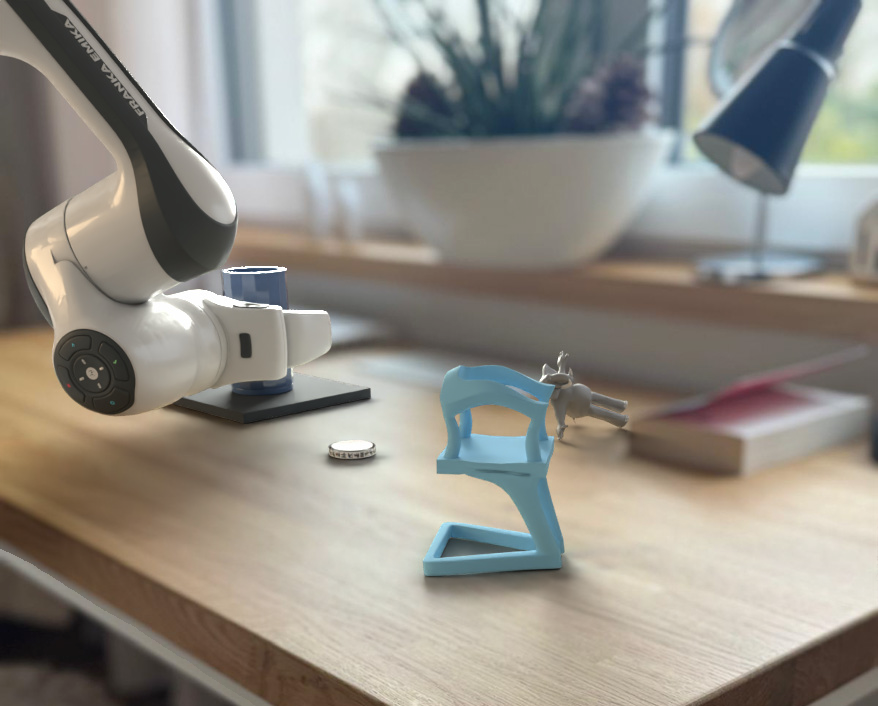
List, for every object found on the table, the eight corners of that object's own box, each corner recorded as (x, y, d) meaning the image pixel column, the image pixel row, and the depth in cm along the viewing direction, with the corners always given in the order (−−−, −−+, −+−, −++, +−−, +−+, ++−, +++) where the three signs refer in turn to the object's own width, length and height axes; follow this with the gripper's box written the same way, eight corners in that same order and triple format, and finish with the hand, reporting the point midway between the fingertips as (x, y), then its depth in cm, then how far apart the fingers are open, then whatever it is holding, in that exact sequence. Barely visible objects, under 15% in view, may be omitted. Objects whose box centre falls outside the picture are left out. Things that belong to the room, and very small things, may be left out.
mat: (155, 399, 113) (154, 390, 113) (279, 377, 124) (278, 368, 123) (244, 423, 103) (243, 413, 102) (371, 397, 113) (370, 387, 112)
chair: (559, 583, 64) (565, 381, 59) (421, 576, 65) (417, 378, 61) (567, 540, 71) (573, 356, 66) (442, 534, 72) (440, 354, 68)
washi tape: (375, 445, 94) (375, 438, 94) (376, 458, 90) (375, 450, 90) (329, 447, 94) (328, 440, 93) (328, 459, 90) (327, 452, 90)
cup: (219, 389, 113) (208, 270, 108) (269, 380, 117) (261, 265, 112) (255, 398, 108) (245, 274, 104) (306, 388, 112) (298, 269, 108)
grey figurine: (643, 442, 95) (551, 412, 92) (607, 477, 100) (520, 449, 97) (640, 355, 100) (553, 324, 97) (606, 392, 104) (523, 363, 102)
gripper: (100, 370, 103) (175, 346, 115) (296, 380, 97) (354, 354, 109) (91, 302, 100) (169, 285, 113) (292, 308, 94) (351, 290, 107)
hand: (261, 319), depth 111 cm, fingers closed on cup, 6 cm apart
